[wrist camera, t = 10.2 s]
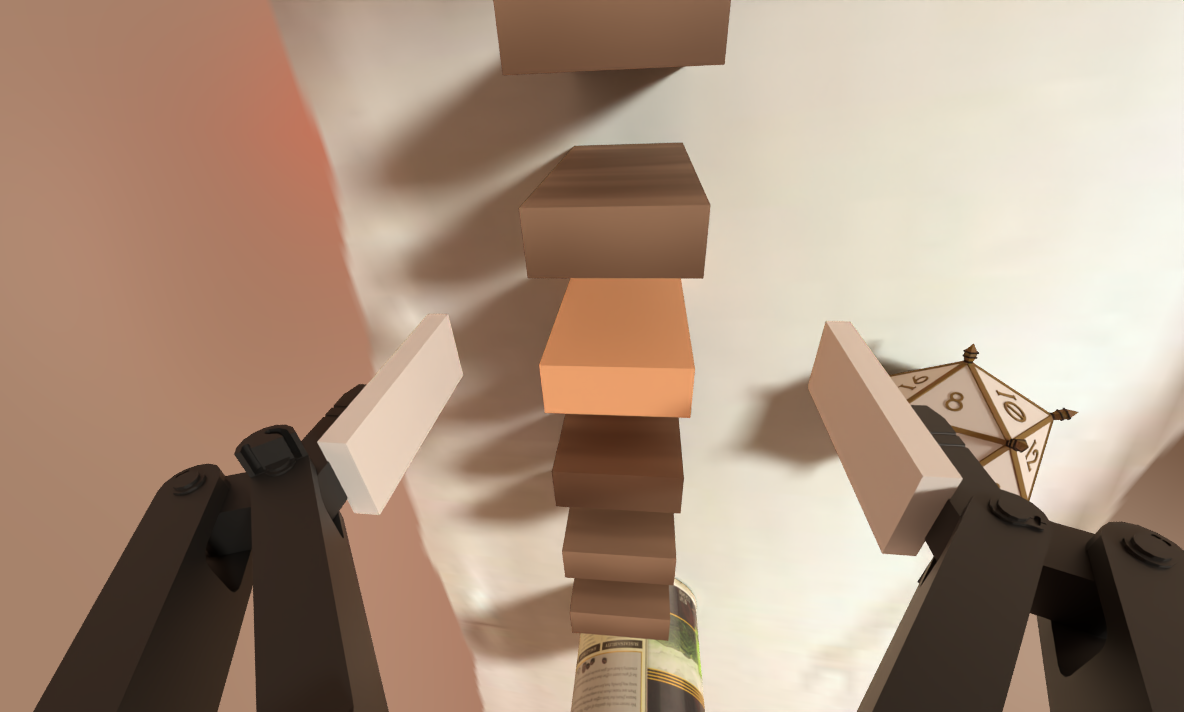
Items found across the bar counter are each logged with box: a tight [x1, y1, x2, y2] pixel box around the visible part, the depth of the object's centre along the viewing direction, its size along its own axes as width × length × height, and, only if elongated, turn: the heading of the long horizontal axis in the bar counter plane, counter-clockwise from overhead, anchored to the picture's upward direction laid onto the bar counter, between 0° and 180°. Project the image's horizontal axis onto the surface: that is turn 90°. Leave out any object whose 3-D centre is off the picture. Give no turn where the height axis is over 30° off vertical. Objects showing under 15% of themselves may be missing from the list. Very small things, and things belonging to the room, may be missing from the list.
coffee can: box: [571, 578, 705, 712], centre depth 35 cm, size 10×10×14 cm
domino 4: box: [552, 414, 684, 513], centre depth 22 cm, size 2×5×11 cm, turn 92°
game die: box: [889, 344, 1078, 501], centre depth 23 cm, size 9×8×10 cm
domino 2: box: [519, 143, 710, 278], centre depth 17 cm, size 2×5×11 cm, turn 92°
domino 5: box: [562, 507, 676, 585], centre depth 25 cm, size 2×5×11 cm, turn 93°
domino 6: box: [570, 578, 670, 641], centre depth 28 cm, size 2×5×11 cm, turn 93°
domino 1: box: [493, 0, 731, 75], centre depth 14 cm, size 2×5×11 cm, turn 92°
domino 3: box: [539, 278, 695, 418], centre depth 20 cm, size 2×5×11 cm, turn 92°
